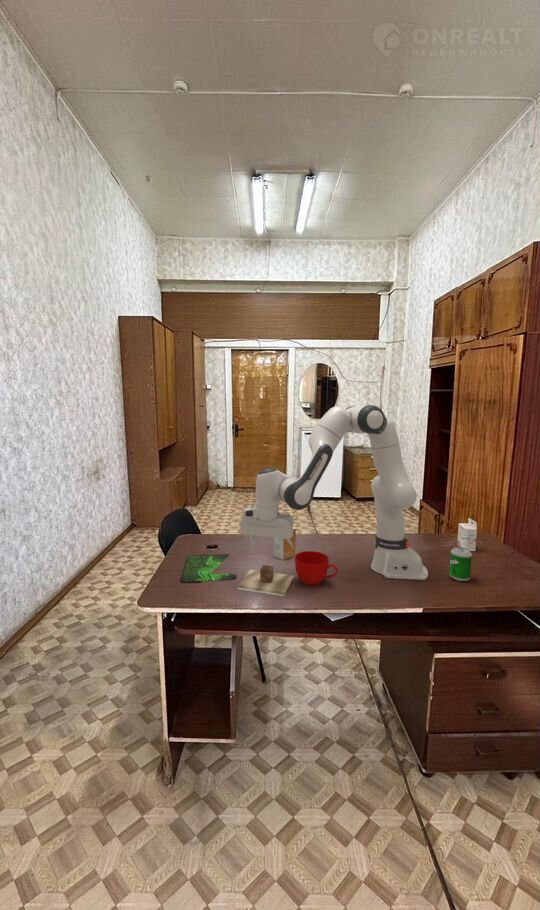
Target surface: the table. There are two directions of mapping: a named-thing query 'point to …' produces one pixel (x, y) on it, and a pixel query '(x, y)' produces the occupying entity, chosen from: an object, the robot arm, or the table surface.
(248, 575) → the lid
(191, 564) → the mouse mat
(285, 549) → the small box
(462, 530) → the ink cartridge box
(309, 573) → the ceramic cup
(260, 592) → the mat
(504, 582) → the table surface
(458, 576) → the soda can
